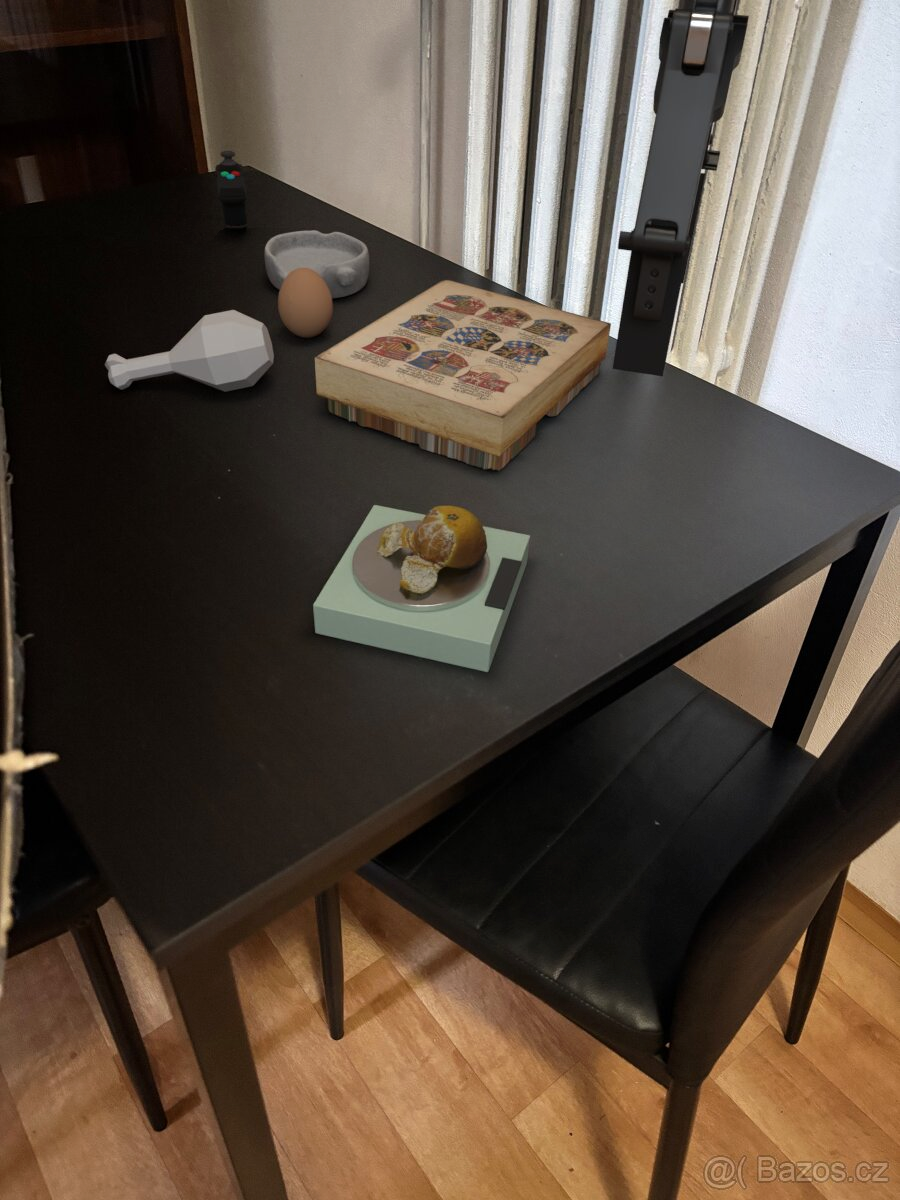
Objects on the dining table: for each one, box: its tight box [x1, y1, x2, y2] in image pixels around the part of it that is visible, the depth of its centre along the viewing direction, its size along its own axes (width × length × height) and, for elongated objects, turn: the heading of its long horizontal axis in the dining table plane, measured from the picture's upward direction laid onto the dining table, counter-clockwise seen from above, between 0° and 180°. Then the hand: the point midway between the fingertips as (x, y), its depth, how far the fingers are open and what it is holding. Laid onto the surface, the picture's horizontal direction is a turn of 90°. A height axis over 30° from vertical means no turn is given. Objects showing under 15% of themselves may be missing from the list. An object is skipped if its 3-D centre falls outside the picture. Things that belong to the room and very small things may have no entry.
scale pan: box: [352, 520, 490, 611], centre depth 73 cm, size 11×11×1 cm
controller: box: [214, 150, 248, 231], centre depth 134 cm, size 4×12×10 cm, turn 12°
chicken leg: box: [104, 309, 275, 393], centre depth 98 cm, size 8×18×8 cm, turn 95°
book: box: [314, 278, 612, 472], centre depth 101 cm, size 25×6×28 cm
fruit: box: [377, 505, 487, 594], centre depth 72 cm, size 8×8×4 cm
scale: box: [312, 504, 531, 673], centre depth 74 cm, size 14×14×3 cm
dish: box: [264, 229, 370, 299], centre depth 122 cm, size 14×14×5 cm
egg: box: [277, 268, 334, 339], centre depth 108 cm, size 6×6×8 cm
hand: (651, 320), depth 54 cm, fingers open, 13 cm apart
